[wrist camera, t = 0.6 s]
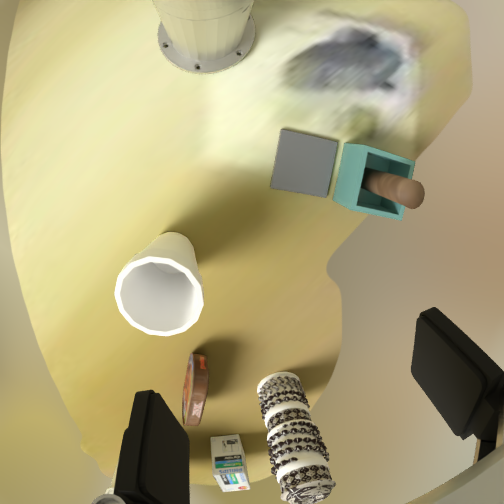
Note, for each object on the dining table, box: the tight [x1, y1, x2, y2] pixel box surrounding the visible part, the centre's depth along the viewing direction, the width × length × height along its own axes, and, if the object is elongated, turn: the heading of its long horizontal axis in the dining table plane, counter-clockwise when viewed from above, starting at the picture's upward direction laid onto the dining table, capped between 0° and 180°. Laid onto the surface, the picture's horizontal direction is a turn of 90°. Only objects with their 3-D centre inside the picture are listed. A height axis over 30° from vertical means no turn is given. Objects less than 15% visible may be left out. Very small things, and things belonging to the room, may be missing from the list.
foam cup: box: [114, 232, 204, 336], centre depth 36 cm, size 10×9×13 cm
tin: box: [182, 353, 209, 426], centre depth 47 cm, size 15×3×8 cm, turn 165°
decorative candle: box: [257, 371, 336, 504], centre depth 42 cm, size 9×9×25 cm
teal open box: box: [333, 143, 415, 221], centre depth 39 cm, size 8×8×6 cm
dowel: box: [360, 167, 425, 209], centre depth 35 cm, size 3×3×12 cm
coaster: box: [270, 129, 338, 198], centre depth 39 cm, size 8×8×1 cm
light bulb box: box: [210, 434, 250, 492], centre depth 55 cm, size 11×7×11 cm, turn 7°
